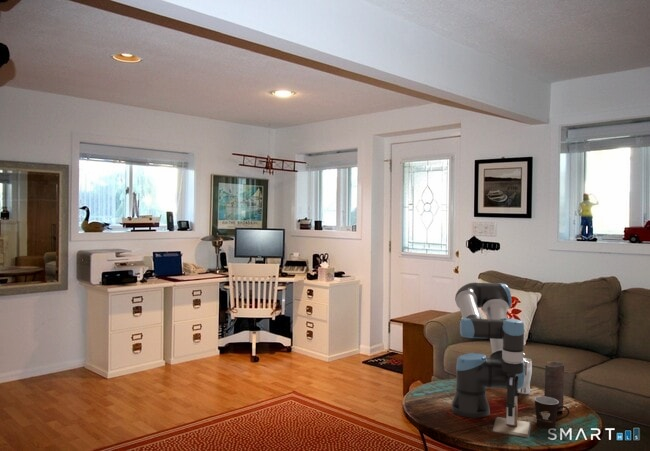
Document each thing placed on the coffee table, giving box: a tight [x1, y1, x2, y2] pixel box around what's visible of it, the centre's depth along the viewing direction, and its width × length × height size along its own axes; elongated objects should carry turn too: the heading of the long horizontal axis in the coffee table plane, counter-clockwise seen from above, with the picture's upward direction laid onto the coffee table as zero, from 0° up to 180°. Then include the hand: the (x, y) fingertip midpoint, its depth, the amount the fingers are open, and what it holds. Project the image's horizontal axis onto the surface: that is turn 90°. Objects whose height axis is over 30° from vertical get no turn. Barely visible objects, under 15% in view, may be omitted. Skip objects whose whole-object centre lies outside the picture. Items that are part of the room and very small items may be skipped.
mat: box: [491, 419, 532, 439], centre depth 199 cm, size 13×13×1 cm
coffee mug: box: [533, 395, 570, 429], centre depth 201 cm, size 12×9×10 cm
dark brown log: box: [544, 361, 565, 412], centre depth 218 cm, size 8×7×20 cm
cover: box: [492, 403, 531, 438], centre depth 199 cm, size 12×12×9 cm
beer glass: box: [517, 357, 533, 395], centre depth 240 cm, size 7×7×15 cm
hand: (511, 418), depth 199 cm, fingers open, 11 cm apart
